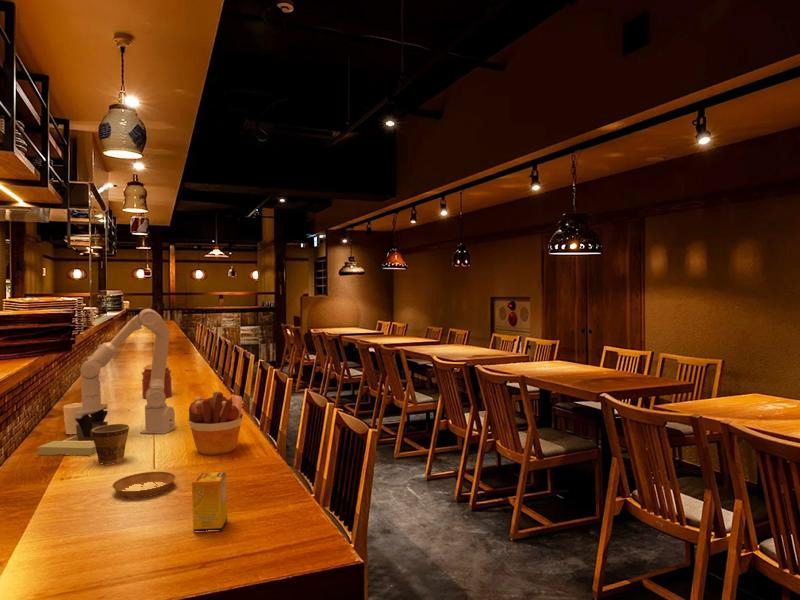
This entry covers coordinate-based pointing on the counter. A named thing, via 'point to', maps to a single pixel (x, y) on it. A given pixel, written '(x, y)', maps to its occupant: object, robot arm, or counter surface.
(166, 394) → the canister
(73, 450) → the tan bracket
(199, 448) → the bucket of meat
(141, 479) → the plant saucer
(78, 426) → the chute
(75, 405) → the white cup
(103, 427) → the ceramic cup
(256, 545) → the counter surface
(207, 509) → the supplement box
